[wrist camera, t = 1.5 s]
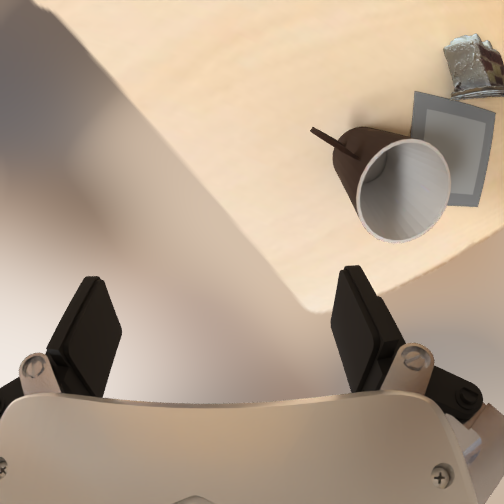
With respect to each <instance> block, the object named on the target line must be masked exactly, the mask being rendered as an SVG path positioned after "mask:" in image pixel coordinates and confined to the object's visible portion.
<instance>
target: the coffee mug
mask: <svg viewBox="0 0 504 504" xmlns="http://www.w3.org/2000/svg"><path fill="white" fill-rule="evenodd" d="M310 132H312V133H313V134H315V135H316V136H318V137H319V138H321V139H322V140H324V141H326V142H327V143H329V144H330V145H332V146H334V151H333V165H334V168H335V171H336V172H337V174H338V176H339V178H340V180H341V182H342V184H343V186H344V188H345V190H346V192H347V194H348V196H349V198H350V200H351V202H352V204H353V206H354V208H355V210H356V212H357V214H358V217H359V219H360V221H361V223H362V224H363V226H364V228H365V229H366V230H367V231H368V232H369V234H371V235H372V236H374V237H375V238H376V239H379V240H381V241H383V242H388V243H404V242H408V241H411V240H414V239H416V238H418V237H420V236H422V235H423V234H425V233H426V232H427V231H429V230H430V229H431V228H432V227H433V226H434V225H435V224H436V222H437V221H438V220H439V219H440V217H441V216H442V214H443V212H444V210H445V208H446V206H447V203H448V200H449V196H450V192H451V176H450V171H449V167H448V164H447V162H446V160H445V158H444V157H443V155H442V154H441V153H440V152H439V150H438V149H437V148H435V147H434V146H433V145H431V144H430V143H427V142H425V141H422V140H419V139H415V138H411V137H407V136H403V135H399V134H395V133H390V132H386V131H381V130H377V129H372V128H366V127H358V128H354V129H351V130H349V131H347V132H346V133H344V134H343V135H342V136H341V137H340V138H339V140H338V141H337V140H336V139H334V138H332V137H330V136H329V135H327V134H325V133H323V132H321V131H320V130H318V129H316V128H314V127H312V129H311V130H310Z"/></svg>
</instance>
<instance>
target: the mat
mask: <svg viewBox="0 0 504 504" xmlns="http://www.w3.org/2000/svg"><path fill="white" fill-rule="evenodd" d="M449 100H450V99H447V98H443V97H439V96H434V95H430V94H426V93H421V92H416V91H415V93H414V107H413V118H412V128H411V138H415V139H419V140H422V141H425V142H427V143H430V144H431V145H433V146H434V147H435V148H437V149H438V150H439V152H440V153H441V154H442V155H443V157H444V158H445V160H446V162H447V164H448V167H449V171H450V176H451V192H450V196H449V200H448V203H447V205H448V206H469V207H478V204H479V200H480V196H481V192H482V188H483V184H484V180H485V175H486V170H487V165H488V160H489V155H490V149H491V143H492V137H493V130H494V122H495V114H496V113H494V112H491V111H488V110H485V109H482V108H479V107H475V106H472V105H469V104H465V103H462V102H458V101H454V100H453V101H449Z"/></svg>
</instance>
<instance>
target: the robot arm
mask: <svg viewBox="0 0 504 504" xmlns="http://www.w3.org/2000/svg"><path fill="white" fill-rule="evenodd" d="M331 329H332V332H333V335H334V338H335V341H336V344H337V348H338V350H339V354H340V357H341V360H342V363H343V366H344V370H345V373H346V376H347V380H348V383H349V386H350V389H351V392H352V393H349V394H340V395H333V396H325V397H315V398H305V399H295V400H284V401H271V402H253V403H229V404H228V403H223V404H190V403H161V402H160V403H159V402H144V401H130V400H119V399H109V398H102V397H103V394H104V391H105V387H106V384H107V380H108V377H109V373H110V370H111V367H112V364H113V360H114V357H115V354H116V350H117V348H118V345H119V342H120V339H121V335H122V328H121V326H120V323H119V320H118V318H117V316H116V313H115V310H114V307H113V305H112V302H111V299H110V296H109V294H108V291H107V288H106V285H105V282H104V281H103V280H101V279H100V277H98V276H94V277H93V276H92V277H91V276H88V277H85V278H84V279H83V281H82V283H81V284H80V286H79V288H78V290H77V291H76V293H75V295H74V297H73V298H72V300H71V302H70V304H69V306H68V307H67V309H66V311H65V313H64V315H63V317H62V318H61V320H60V322H59V324H58V326H57V328H56V330H55V332H54V334H53V336H52V338H51V340H50V342H49V344H48V346H47V348H46V349H47V352H46V354H43V353H34V354H31V355H29V356H27V357H26V358H25V359H24V360H23V361H22V363H21V365H20V367H19V376H20V377H18V378H16V379H15V380H13V381H11V382H10V383H8V384H6V385H5V386H3V387H1V388H0V504H485V503H486V501H487V500H488V498H489V497H490V495H491V494H492V493H493V491H494V489H495V488H496V487H497V485H498V484H499V482H500V480H501V479H502V477H503V476H504V415H502V414H501V413H500V412H499V411H498V410H497V409H496V408H494V407H493V406H492V405H491V404H490V403H488V404H487V405H485V404H484V403H483V397H482V393H481V391H480V389H479V388H478V387H477V386H476V385H474V384H473V383H471V382H469V381H466V380H464V379H462V378H460V377H458V376H456V375H454V374H451V373H449V372H447V371H445V370H443V369H441V368H439V367H436V366H434V357H433V354H432V353H431V351H430V350H429V349H428V348H426V347H425V346H423V345H421V344H417V343H408V344H406V343H405V341H404V339H403V337H402V335H401V333H400V331H399V329H398V327H397V325H396V323H395V321H394V320H393V318H392V316H391V314H390V312H389V310H388V308H387V306H386V305H385V303H384V301H383V299H382V298H381V297H379V296H377V295H376V293H375V292H374V290H373V288H372V286H371V284H370V282H369V281H368V279H367V277H366V275H365V274H364V272H363V270H362V268H361V267H360V266H359V265H355V266H345V268H344V270H340V273H339V278H338V284H337V290H336V295H335V301H334V306H333V311H332V317H331Z"/></svg>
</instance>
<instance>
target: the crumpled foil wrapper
mask: <svg viewBox="0 0 504 504" xmlns="http://www.w3.org/2000/svg"><path fill="white" fill-rule="evenodd" d="M443 50H444V54H445V57H446V59H447V61H448V66H449V69H450V72H451V75H452V80H453V84H454V88H455V90H454V92H453V93H452V94H451V99H450V100H449V101H453V100H460V99H470V98H482V97H483V98H485V97H491V96H492V97H495V96H496V97H501V96H503V97H504V64H503V61H502V58H501V55H500V53H499V52H498V51H496V50H494V49H493V48H492V45H491V43H490V42H489V41H488V40H486V41H485V42H482V41H481V39H480V37H479V36H478V35H477V34H474V35H472V36H467V35H464V36H461V37H459V38H455V39H454V40H453V41H451V42H450V45H448V46H446V47H445V48H444V49H443Z"/></svg>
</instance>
